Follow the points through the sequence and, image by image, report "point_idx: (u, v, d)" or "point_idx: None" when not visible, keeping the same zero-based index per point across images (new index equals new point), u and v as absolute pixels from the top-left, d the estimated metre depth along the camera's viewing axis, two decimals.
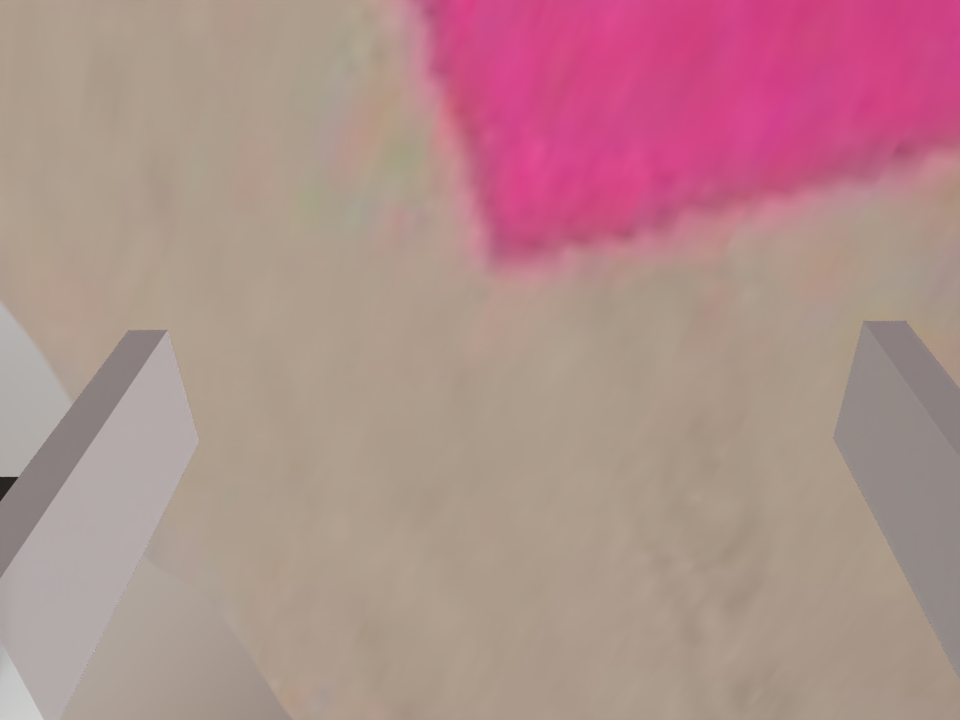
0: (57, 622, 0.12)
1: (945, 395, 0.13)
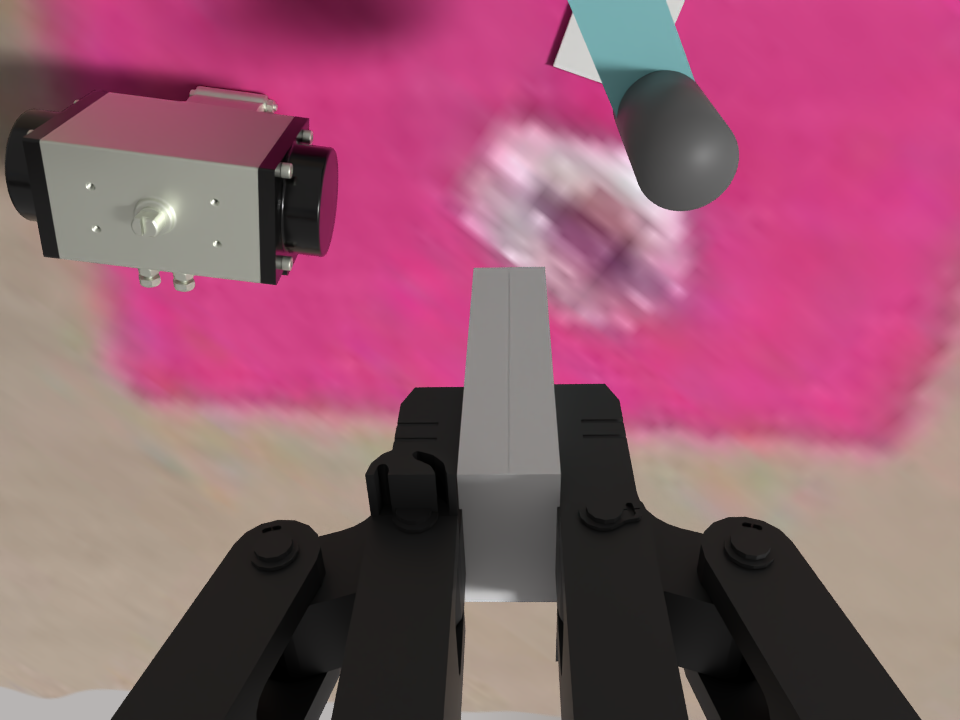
0: None
1: (532, 323, 0.15)
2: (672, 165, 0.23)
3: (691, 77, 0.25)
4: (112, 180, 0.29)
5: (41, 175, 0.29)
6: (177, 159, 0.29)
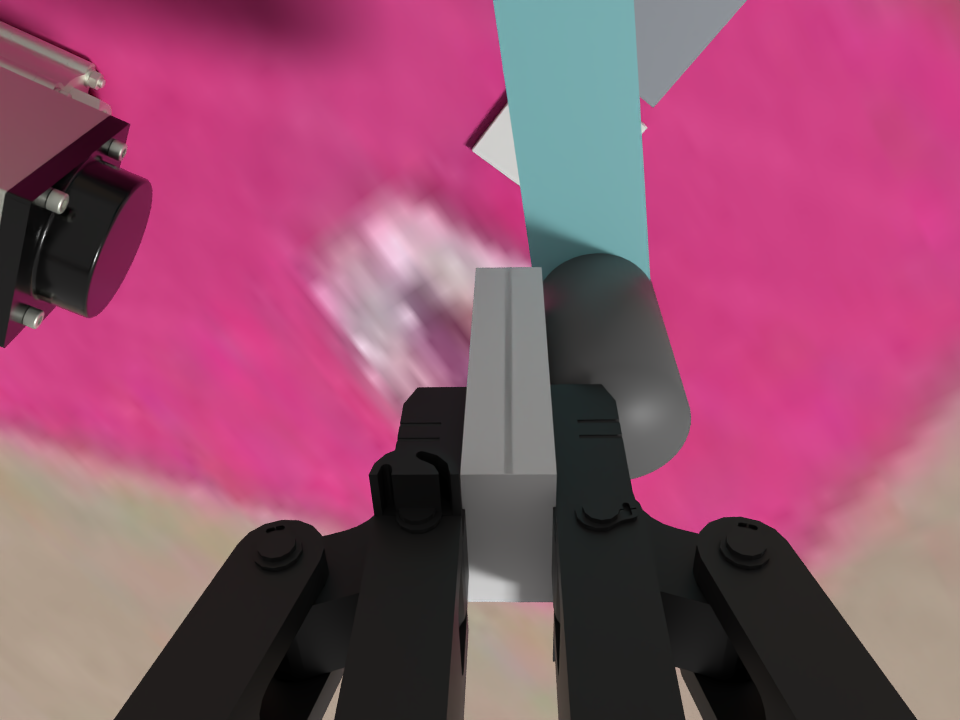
0: None
1: (529, 323, 0.15)
2: None
3: (647, 274, 0.18)
4: None
5: None
6: None
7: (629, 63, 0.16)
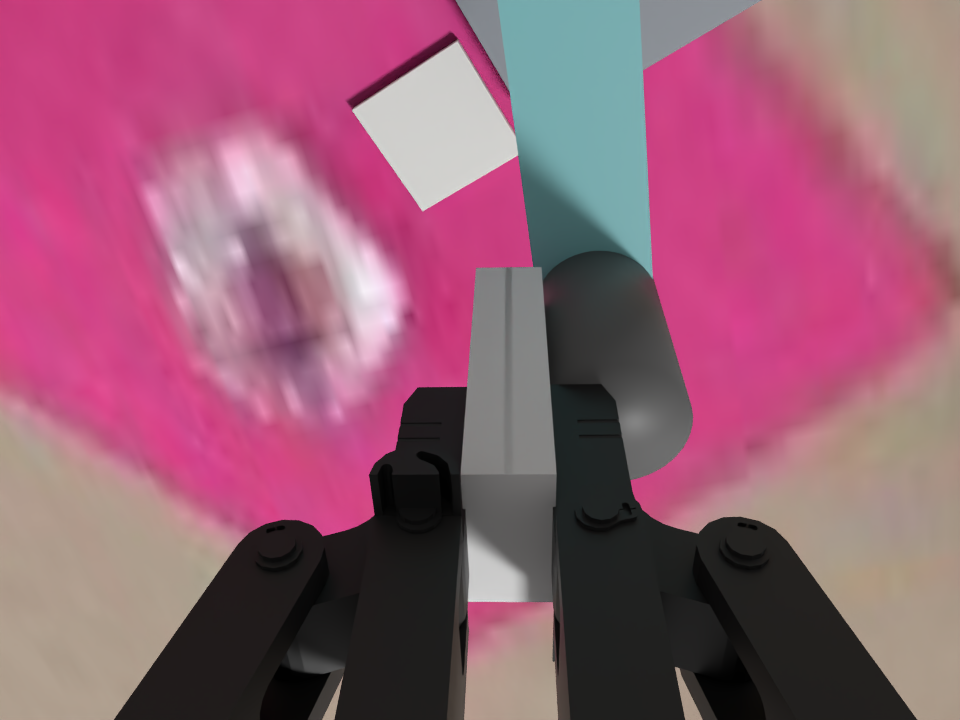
0: None
1: (529, 323, 0.15)
2: None
3: (649, 273, 0.18)
4: None
5: None
6: None
7: (633, 57, 0.16)
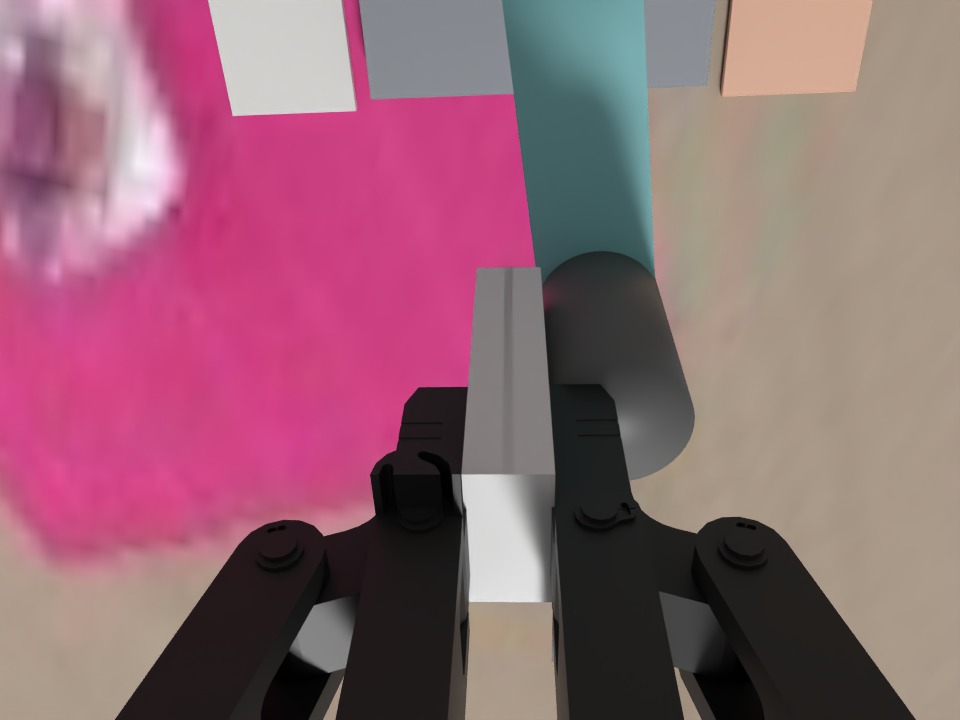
0: None
1: (528, 324, 0.15)
2: None
3: (652, 273, 0.18)
4: None
5: None
6: None
7: (637, 58, 0.16)
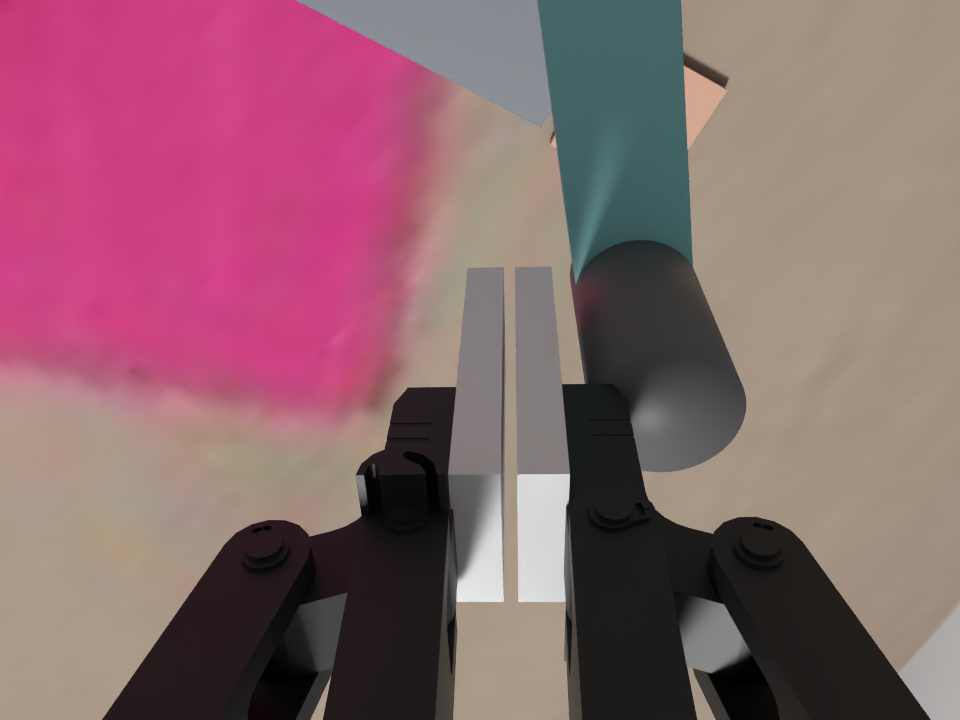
0: None
1: (540, 323, 0.15)
2: (647, 411, 0.15)
3: (690, 261, 0.18)
4: None
5: None
6: None
7: (674, 42, 0.16)
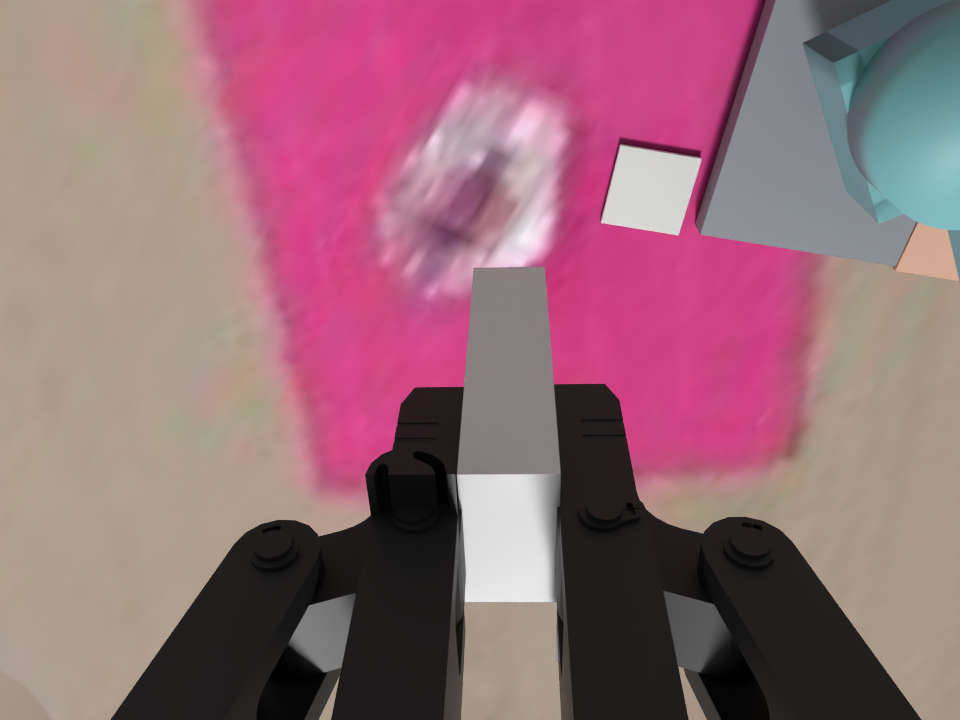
0: None
1: (533, 323, 0.15)
2: None
3: None
4: None
5: None
6: None
7: None
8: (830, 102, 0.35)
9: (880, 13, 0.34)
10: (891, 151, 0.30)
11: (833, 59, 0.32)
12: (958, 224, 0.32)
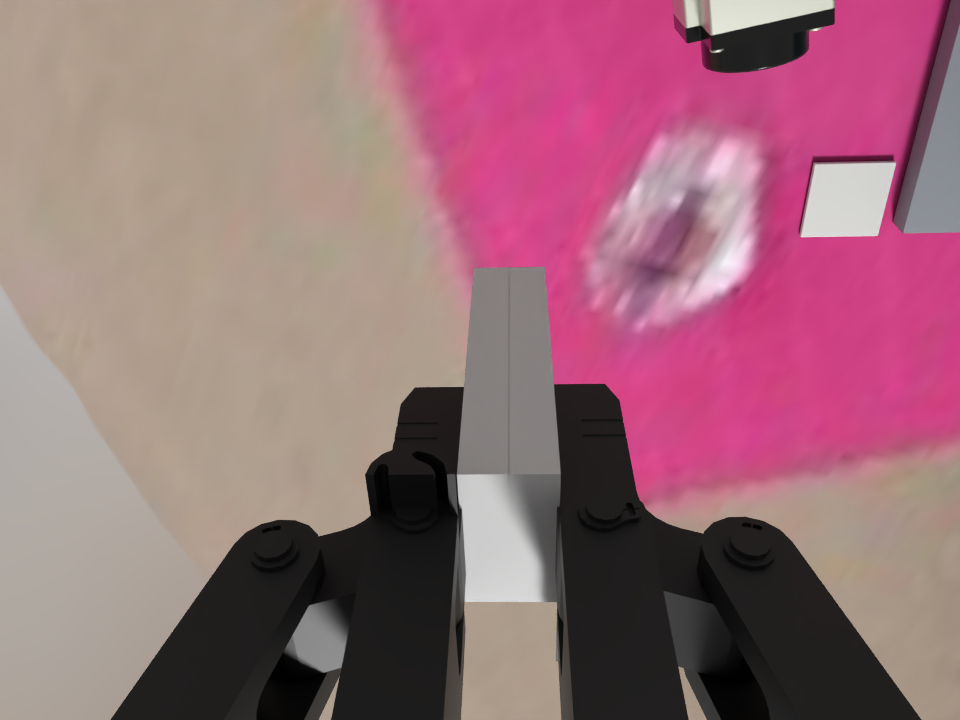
0: None
1: (532, 323, 0.15)
2: None
3: None
4: None
5: None
6: None
7: None
8: None
9: None
10: None
11: None
12: None
